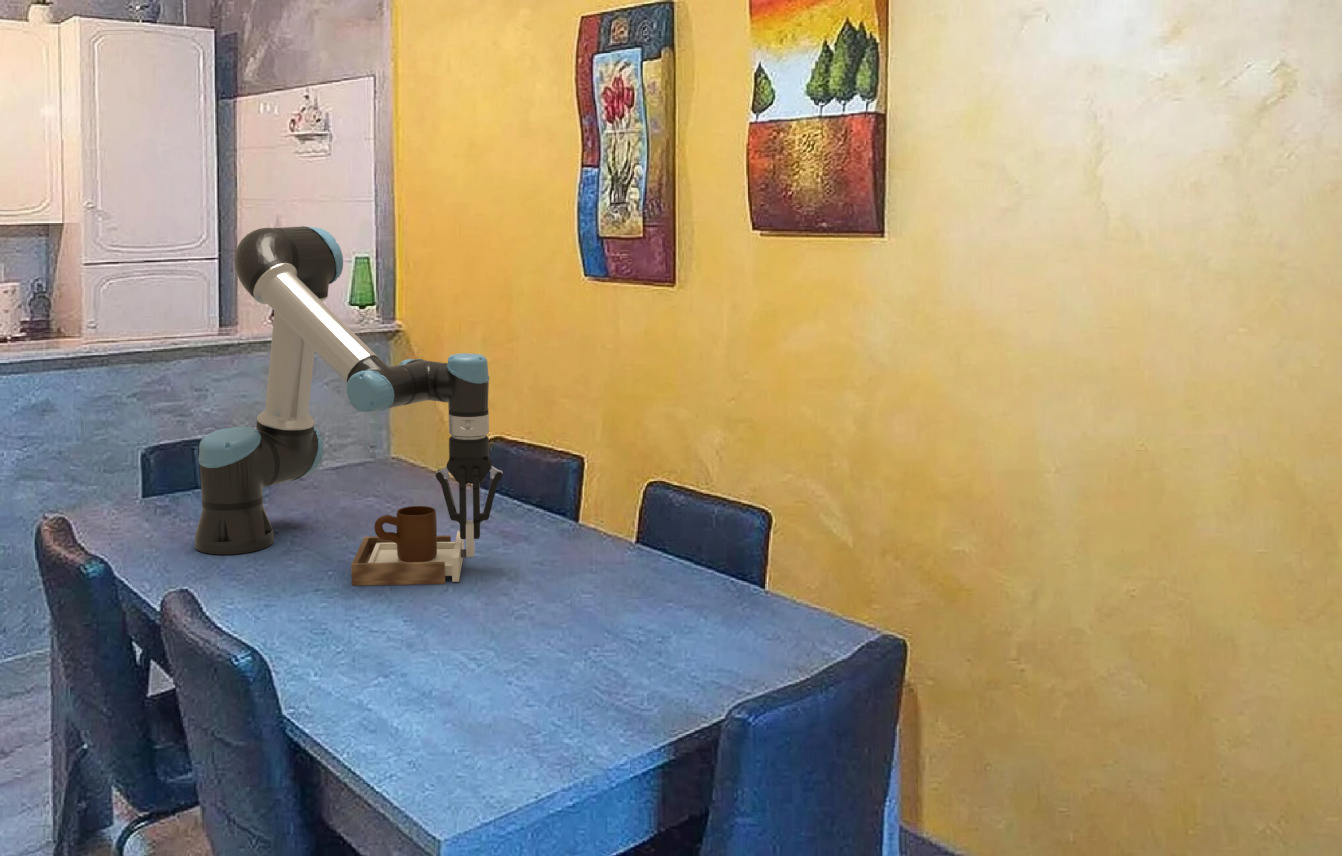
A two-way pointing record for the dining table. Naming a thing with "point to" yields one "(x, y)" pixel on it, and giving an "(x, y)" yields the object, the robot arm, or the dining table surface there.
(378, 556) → the drawer
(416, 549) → the mug
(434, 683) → the dining table surface
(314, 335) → the robot arm
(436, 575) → the frame
